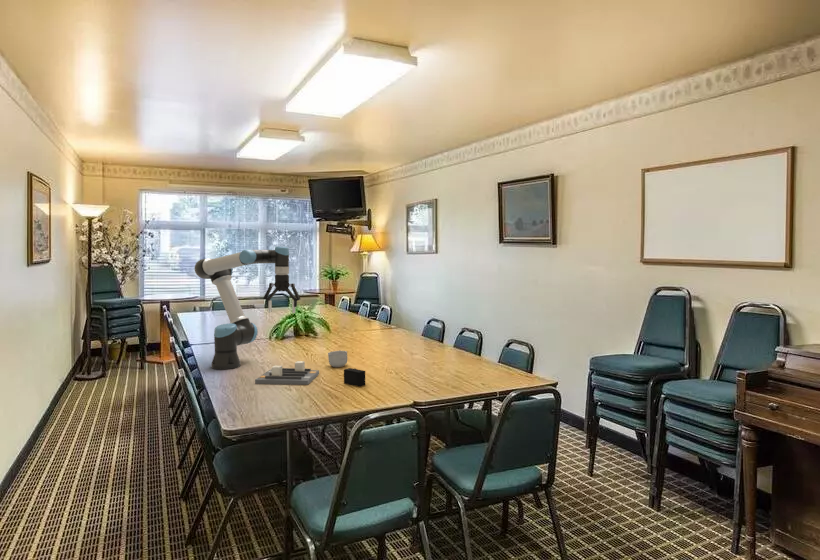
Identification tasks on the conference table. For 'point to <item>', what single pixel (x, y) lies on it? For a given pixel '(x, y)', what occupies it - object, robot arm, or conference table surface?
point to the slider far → (300, 366)
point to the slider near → (277, 371)
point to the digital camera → (354, 377)
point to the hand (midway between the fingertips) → (281, 312)
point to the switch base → (288, 377)
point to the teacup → (337, 358)
